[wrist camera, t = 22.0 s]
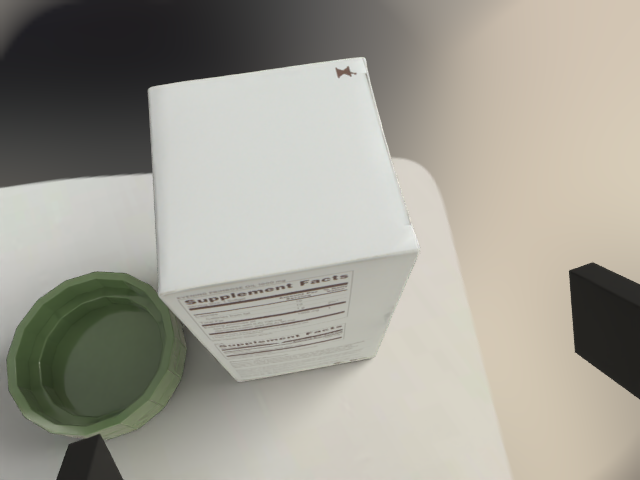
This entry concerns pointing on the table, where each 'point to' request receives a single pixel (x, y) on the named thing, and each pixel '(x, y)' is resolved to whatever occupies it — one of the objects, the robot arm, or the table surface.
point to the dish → (96, 357)
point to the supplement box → (279, 216)
